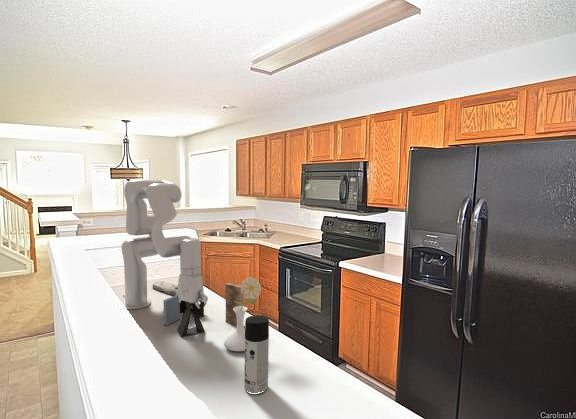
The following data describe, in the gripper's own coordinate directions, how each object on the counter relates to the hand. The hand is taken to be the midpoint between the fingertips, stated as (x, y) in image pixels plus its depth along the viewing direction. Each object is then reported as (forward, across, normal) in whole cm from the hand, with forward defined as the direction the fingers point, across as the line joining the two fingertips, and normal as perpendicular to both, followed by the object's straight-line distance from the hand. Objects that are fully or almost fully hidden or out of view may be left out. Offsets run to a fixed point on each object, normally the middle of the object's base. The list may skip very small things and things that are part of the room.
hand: (191, 314), depth 132 cm
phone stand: (+7, -1, 0) cm, 7 cm away
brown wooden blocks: (+7, -7, +16) cm, 19 cm away
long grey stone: (+7, -46, +27) cm, 54 cm away
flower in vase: (+7, +23, +3) cm, 25 cm away
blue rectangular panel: (+6, -15, +7) cm, 18 cm away
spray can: (+8, +43, -13) cm, 46 cm away
